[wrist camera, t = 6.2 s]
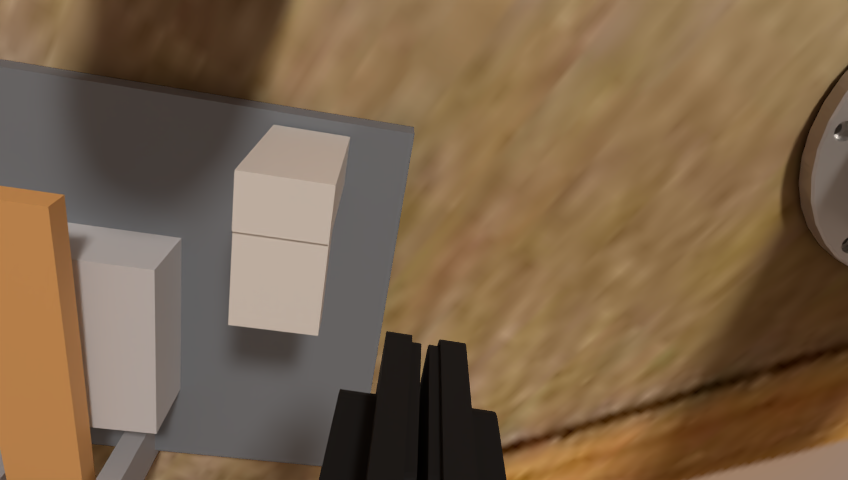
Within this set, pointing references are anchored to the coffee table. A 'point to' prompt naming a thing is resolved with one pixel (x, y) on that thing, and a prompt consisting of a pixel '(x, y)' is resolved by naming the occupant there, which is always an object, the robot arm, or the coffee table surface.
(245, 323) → the block
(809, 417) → the coffee table surface
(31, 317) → the strap
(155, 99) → the board
